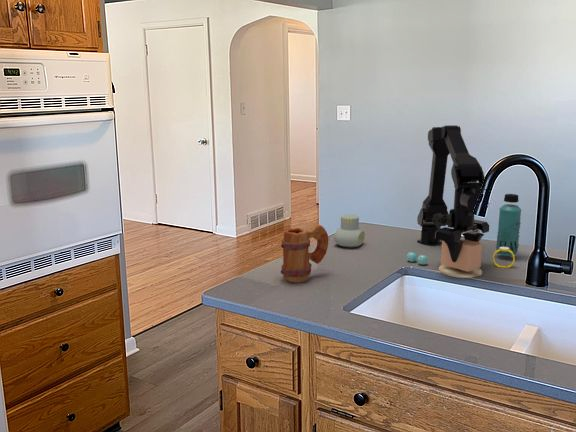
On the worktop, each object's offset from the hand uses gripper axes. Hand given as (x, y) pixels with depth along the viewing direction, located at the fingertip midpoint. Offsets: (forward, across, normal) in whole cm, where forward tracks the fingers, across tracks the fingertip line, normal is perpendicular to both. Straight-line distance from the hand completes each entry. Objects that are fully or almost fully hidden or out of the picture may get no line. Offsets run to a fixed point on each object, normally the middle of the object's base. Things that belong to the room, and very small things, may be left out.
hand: (460, 259), depth 166 cm
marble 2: (+4, +3, -11) cm, 12 cm away
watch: (+4, -13, +6) cm, 15 cm away
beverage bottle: (+4, -22, +2) cm, 22 cm away
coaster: (+4, 0, 0) cm, 4 cm away
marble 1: (+4, +3, -15) cm, 16 cm away
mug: (+4, +38, -25) cm, 46 cm away
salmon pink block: (+2, 0, 0) cm, 2 cm away
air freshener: (+4, +4, -40) cm, 40 cm away
